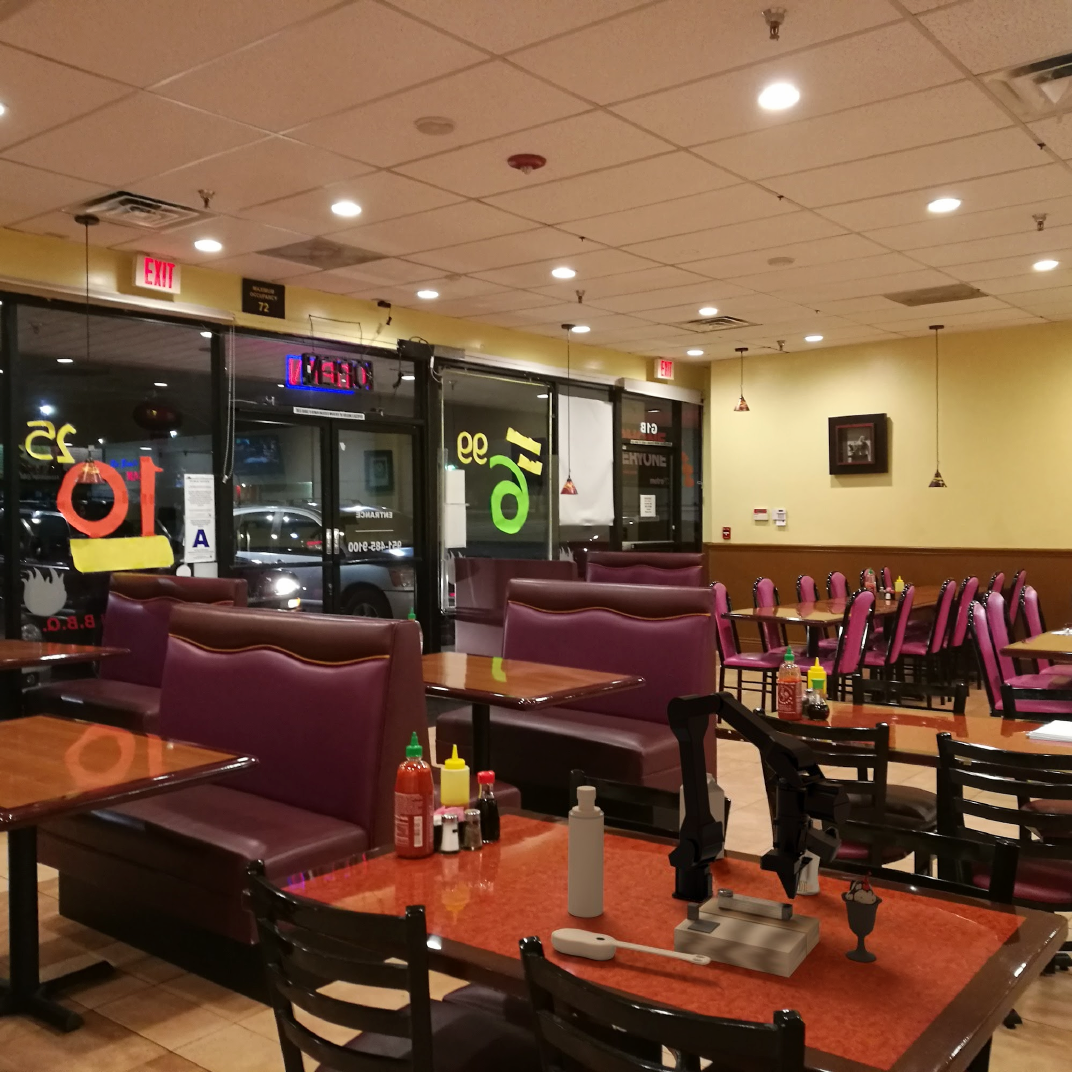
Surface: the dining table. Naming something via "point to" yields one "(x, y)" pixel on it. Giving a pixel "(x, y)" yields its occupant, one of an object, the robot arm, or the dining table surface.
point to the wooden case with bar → (746, 938)
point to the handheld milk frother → (607, 946)
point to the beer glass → (810, 870)
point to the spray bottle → (585, 856)
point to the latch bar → (754, 905)
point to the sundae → (861, 916)
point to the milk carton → (715, 804)
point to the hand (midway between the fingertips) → (791, 898)
